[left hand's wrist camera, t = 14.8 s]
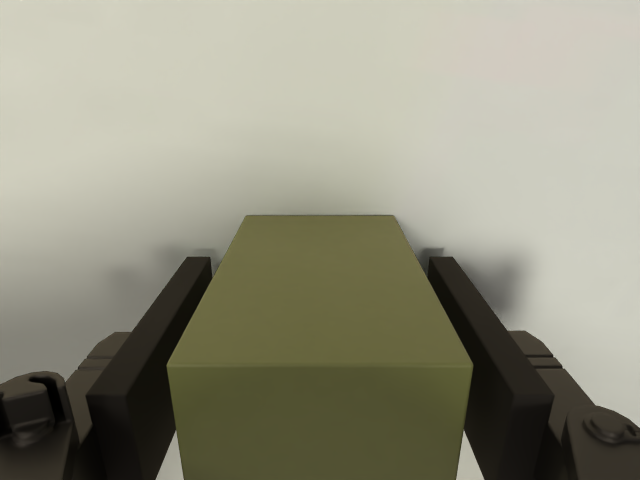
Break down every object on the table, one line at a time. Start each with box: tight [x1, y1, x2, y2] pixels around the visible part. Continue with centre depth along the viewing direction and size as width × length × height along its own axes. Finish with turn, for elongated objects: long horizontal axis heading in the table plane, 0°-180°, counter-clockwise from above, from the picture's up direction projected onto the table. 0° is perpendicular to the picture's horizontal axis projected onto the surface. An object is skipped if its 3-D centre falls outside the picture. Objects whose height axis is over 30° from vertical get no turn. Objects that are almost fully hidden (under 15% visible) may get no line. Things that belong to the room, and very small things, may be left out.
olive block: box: [167, 216, 473, 480], centre depth 12 cm, size 5×5×8 cm
